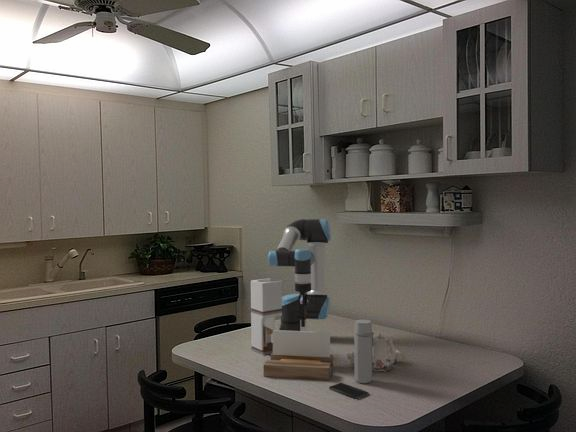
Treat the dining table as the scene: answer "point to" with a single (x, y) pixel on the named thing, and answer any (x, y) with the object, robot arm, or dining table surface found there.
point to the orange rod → (301, 360)
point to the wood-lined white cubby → (264, 313)
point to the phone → (348, 391)
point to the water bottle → (363, 351)
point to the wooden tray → (299, 367)
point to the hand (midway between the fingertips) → (303, 333)
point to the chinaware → (380, 354)
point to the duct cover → (301, 343)
